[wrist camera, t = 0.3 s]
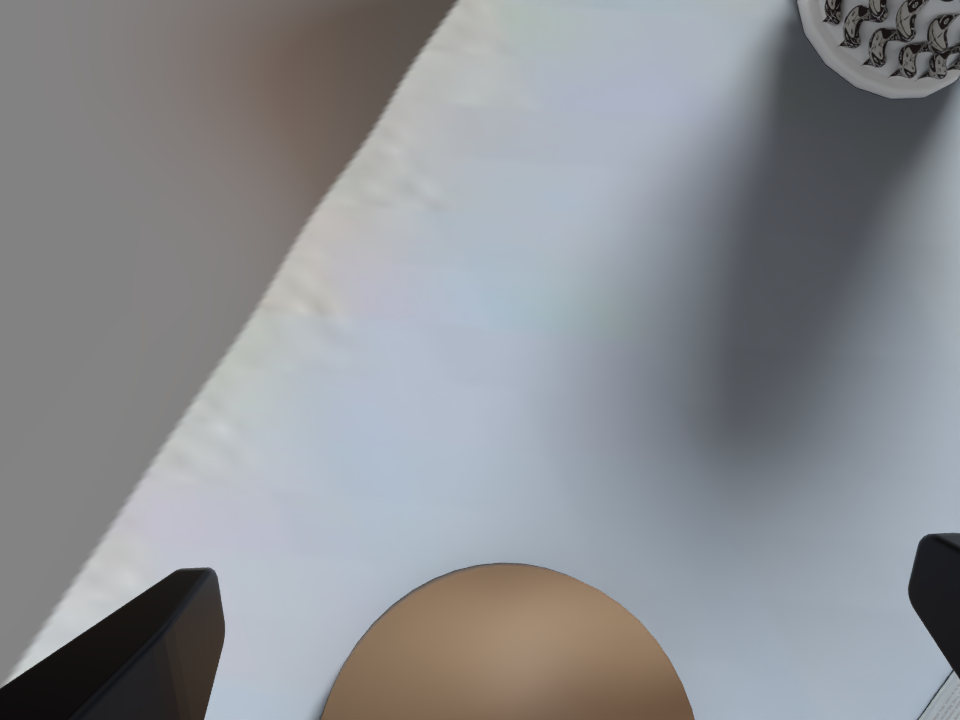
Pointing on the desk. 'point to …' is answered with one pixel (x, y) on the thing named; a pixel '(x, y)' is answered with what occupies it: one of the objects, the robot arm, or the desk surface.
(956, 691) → the supplement box
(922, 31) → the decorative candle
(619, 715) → the walnut base
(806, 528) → the desk surface
